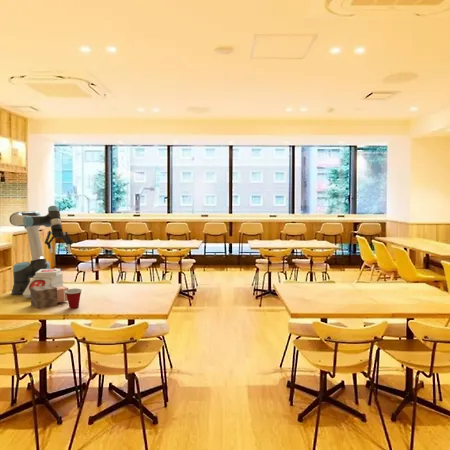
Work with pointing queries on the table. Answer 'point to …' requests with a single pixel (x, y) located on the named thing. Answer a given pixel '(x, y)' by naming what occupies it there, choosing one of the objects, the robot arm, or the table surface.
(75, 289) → the plastic cup
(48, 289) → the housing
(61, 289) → the plug
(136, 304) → the table surface
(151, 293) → the table surface
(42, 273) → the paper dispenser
